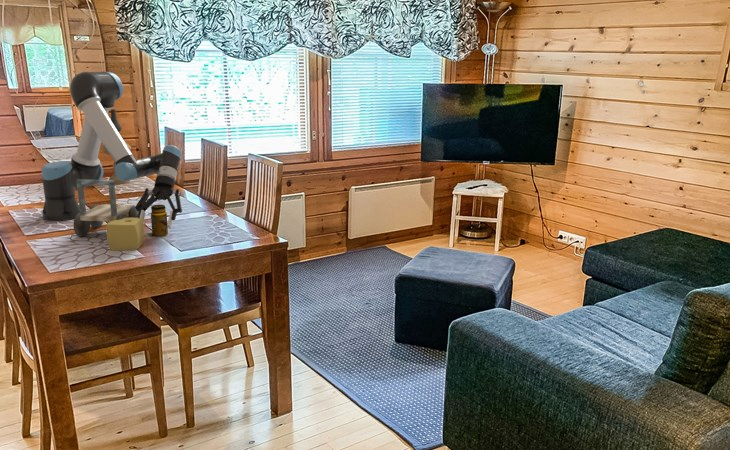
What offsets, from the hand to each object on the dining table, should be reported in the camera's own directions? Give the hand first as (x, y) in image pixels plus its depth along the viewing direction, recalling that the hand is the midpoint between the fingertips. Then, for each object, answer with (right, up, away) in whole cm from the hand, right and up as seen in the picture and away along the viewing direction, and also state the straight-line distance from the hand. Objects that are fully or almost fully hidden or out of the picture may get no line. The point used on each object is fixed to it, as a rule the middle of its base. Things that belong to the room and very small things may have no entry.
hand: (154, 226), depth 225 cm
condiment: (0, -4, +4) cm, 5 cm away
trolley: (-20, -2, +6) cm, 21 cm away
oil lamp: (-54, +24, +95) cm, 112 cm away
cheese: (-6, -8, -10) cm, 14 cm away
